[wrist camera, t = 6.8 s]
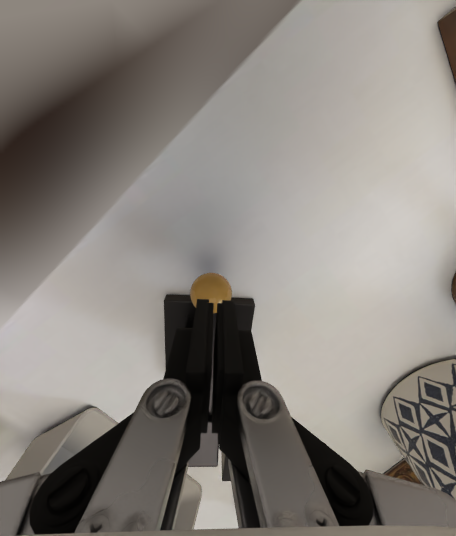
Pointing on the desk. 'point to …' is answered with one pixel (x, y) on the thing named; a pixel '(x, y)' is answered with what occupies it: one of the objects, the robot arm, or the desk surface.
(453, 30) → the button base
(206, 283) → the switch lever
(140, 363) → the desk surface
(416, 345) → the desk surface
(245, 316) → the switch bracket
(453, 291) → the lamp
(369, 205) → the desk surface
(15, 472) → the white storage bin
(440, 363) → the planter
